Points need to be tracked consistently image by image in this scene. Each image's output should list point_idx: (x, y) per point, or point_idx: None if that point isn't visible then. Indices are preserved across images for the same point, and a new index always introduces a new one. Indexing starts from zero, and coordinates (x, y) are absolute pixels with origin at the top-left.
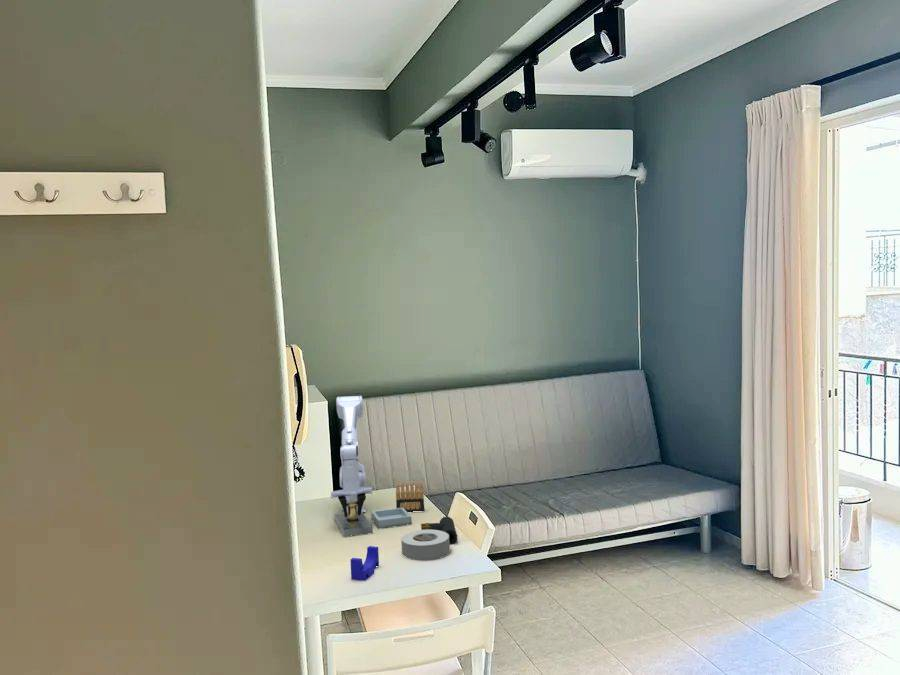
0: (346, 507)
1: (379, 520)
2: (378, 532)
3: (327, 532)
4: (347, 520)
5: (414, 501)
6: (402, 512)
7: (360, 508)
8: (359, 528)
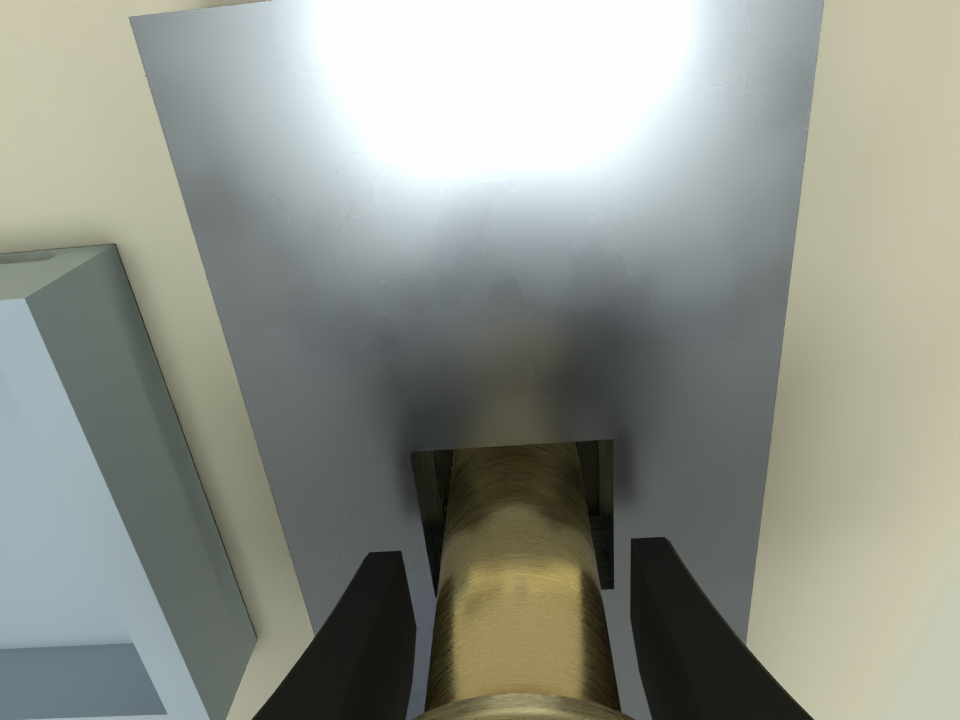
0: (700, 694)
1: (3, 299)
2: (92, 43)
3: (944, 334)
4: None
5: None
6: None
7: (332, 653)
8: None
